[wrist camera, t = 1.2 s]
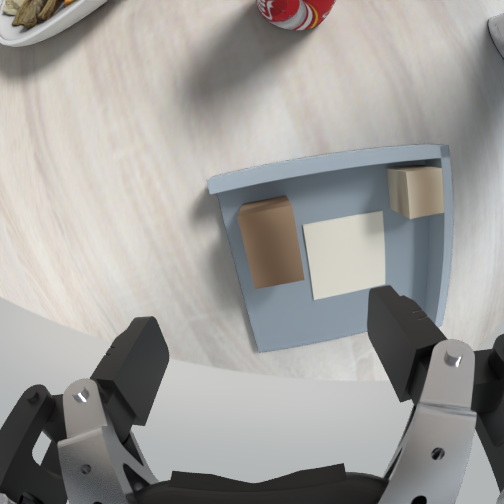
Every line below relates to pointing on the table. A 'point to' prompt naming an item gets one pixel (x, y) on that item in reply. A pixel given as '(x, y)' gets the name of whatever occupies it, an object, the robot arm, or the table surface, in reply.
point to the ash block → (416, 190)
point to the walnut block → (271, 242)
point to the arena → (341, 242)
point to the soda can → (295, 12)
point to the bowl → (40, 19)
